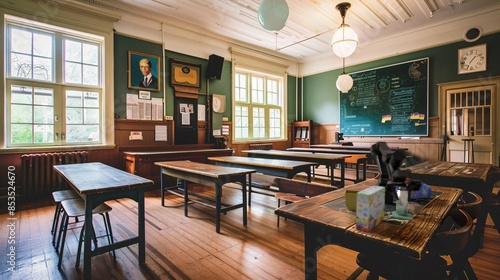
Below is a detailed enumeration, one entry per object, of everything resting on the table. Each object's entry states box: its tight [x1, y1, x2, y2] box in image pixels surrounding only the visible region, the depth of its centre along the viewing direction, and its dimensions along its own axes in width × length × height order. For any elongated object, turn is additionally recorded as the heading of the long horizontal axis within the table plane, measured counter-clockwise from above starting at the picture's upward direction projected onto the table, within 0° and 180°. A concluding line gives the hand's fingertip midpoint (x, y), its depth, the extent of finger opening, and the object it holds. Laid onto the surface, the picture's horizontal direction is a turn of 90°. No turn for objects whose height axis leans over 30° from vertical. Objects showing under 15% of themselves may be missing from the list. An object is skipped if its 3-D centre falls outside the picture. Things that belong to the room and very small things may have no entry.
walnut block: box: [408, 203, 423, 215], centre depth 120 cm, size 4×4×4 cm
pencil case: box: [396, 182, 433, 200], centre depth 148 cm, size 22×9×10 cm, turn 99°
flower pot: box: [343, 189, 361, 212], centre depth 126 cm, size 9×9×9 cm
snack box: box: [355, 185, 385, 233], centre depth 104 cm, size 21×6×15 cm, turn 137°
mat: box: [391, 211, 414, 221], centre depth 115 cm, size 8×8×1 cm
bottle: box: [395, 186, 409, 215], centre depth 115 cm, size 5×5×12 cm
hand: (403, 200), depth 113 cm, fingers closed on bottle, 5 cm apart
